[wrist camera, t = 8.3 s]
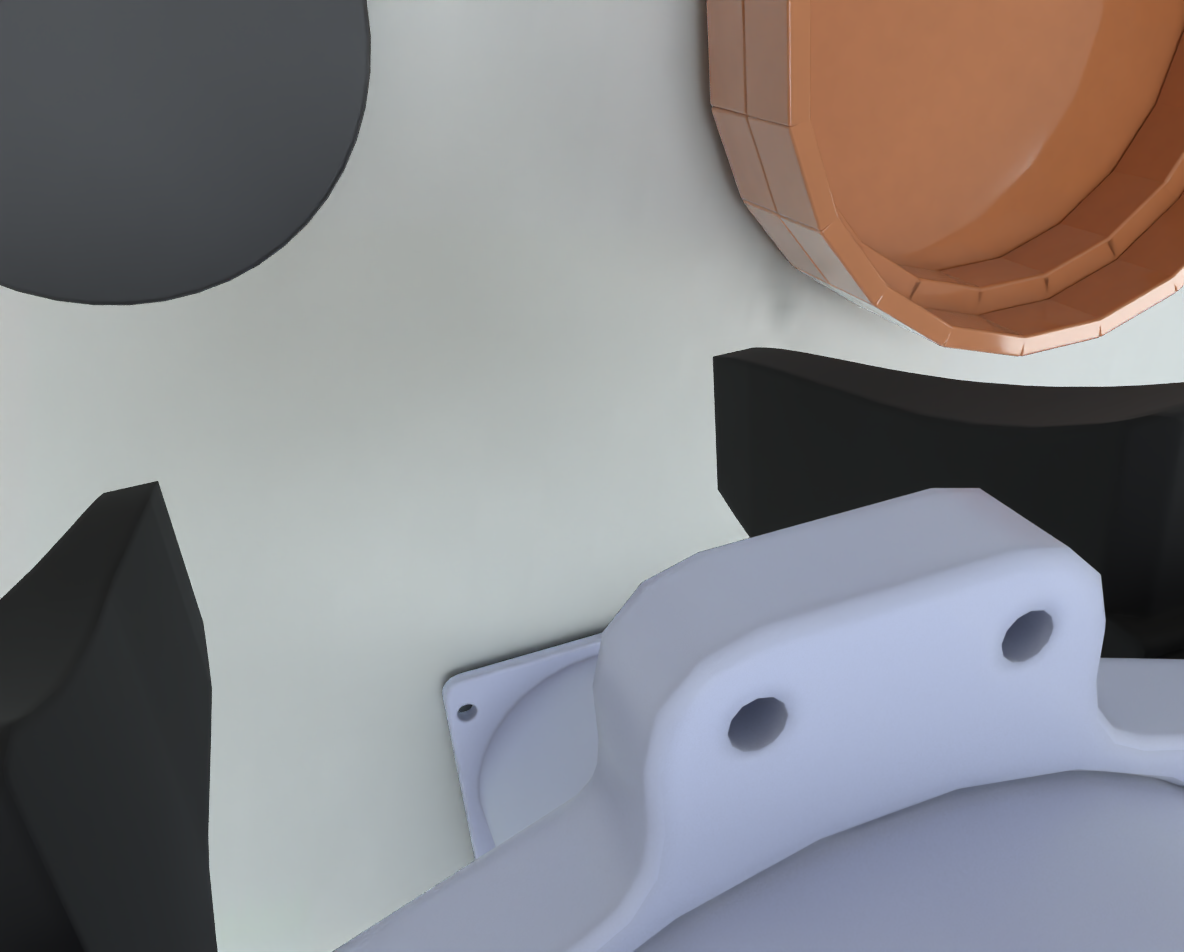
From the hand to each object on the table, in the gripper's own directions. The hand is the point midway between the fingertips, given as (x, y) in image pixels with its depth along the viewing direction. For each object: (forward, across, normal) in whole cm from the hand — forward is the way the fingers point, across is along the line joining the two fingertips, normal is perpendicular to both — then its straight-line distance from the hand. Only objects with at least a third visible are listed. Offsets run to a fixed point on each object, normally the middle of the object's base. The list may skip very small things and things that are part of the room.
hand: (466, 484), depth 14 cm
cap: (+5, +3, -6) cm, 8 cm away
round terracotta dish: (+10, -15, -3) cm, 19 cm away
